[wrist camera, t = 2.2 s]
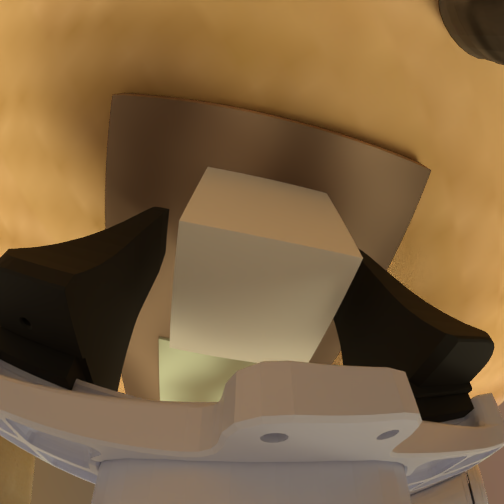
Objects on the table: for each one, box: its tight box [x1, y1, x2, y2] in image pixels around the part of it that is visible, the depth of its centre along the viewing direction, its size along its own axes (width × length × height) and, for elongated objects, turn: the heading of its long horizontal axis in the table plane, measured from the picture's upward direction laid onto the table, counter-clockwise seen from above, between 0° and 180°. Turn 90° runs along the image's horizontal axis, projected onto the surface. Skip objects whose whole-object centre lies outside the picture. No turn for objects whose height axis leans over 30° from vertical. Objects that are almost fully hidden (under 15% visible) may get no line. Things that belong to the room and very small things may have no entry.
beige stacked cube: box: [169, 167, 363, 363], centre depth 11 cm, size 5×5×5 cm
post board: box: [105, 93, 431, 402], centre depth 15 cm, size 14×22×5 cm, turn 167°
